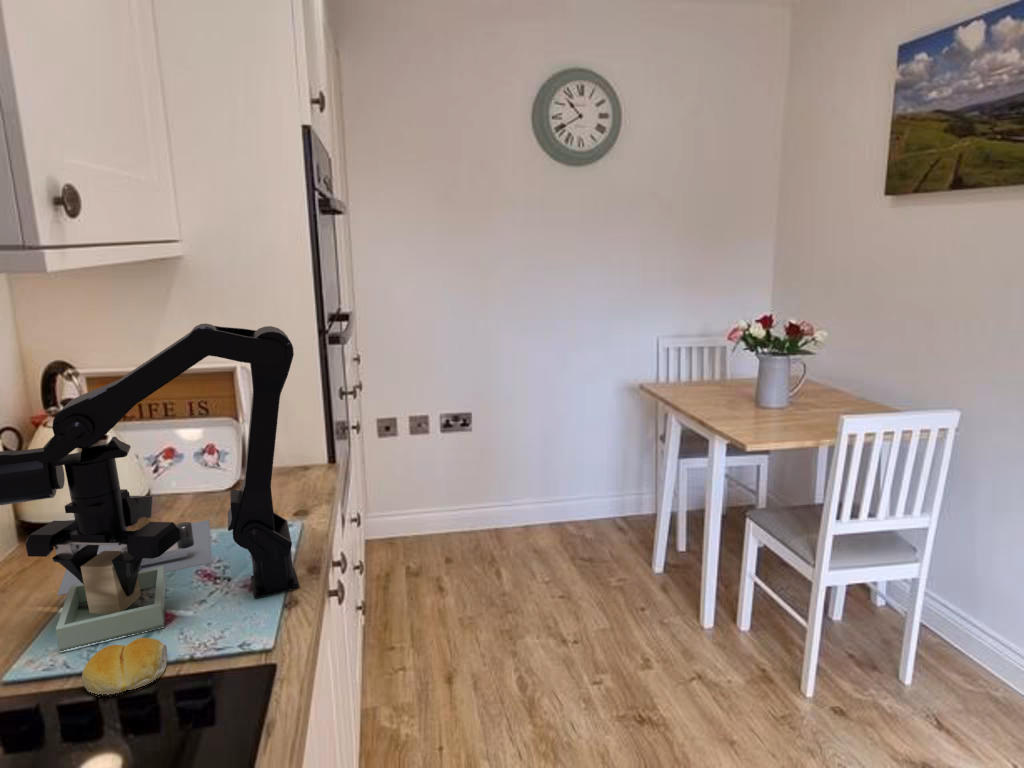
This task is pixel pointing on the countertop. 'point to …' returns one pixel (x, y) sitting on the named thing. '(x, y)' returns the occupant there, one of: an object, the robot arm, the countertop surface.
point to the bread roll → (125, 666)
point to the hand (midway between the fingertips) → (114, 594)
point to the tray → (110, 615)
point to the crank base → (195, 557)
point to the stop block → (105, 585)
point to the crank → (175, 550)
